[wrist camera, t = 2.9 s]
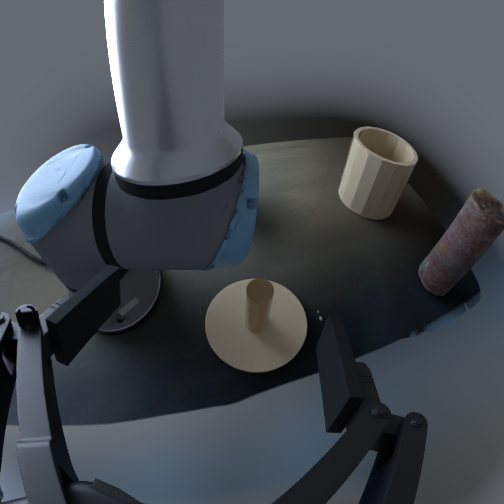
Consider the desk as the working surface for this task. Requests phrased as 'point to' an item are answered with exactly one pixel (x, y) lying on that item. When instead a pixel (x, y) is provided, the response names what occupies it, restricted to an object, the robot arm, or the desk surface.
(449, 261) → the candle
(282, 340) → the jug lid
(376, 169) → the beige cup
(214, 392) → the desk surface
